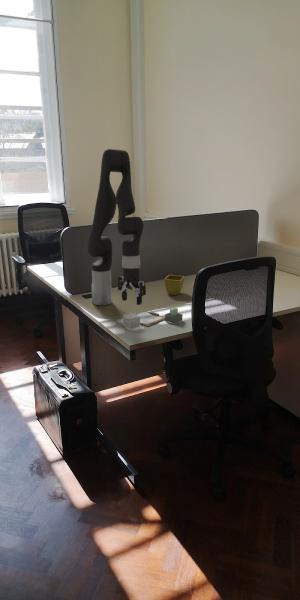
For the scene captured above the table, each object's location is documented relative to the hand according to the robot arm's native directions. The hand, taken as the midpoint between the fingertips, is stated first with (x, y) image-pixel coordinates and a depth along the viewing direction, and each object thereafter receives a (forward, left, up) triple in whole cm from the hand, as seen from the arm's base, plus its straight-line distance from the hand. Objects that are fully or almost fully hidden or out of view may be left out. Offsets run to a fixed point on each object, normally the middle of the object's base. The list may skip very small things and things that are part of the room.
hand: (131, 302), depth 184 cm
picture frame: (-1, +10, -11) cm, 15 cm away
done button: (+9, +17, -9) cm, 22 cm away
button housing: (+9, +17, -11) cm, 22 cm away
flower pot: (-15, +48, -11) cm, 51 cm away
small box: (0, 0, -11) cm, 11 cm away
